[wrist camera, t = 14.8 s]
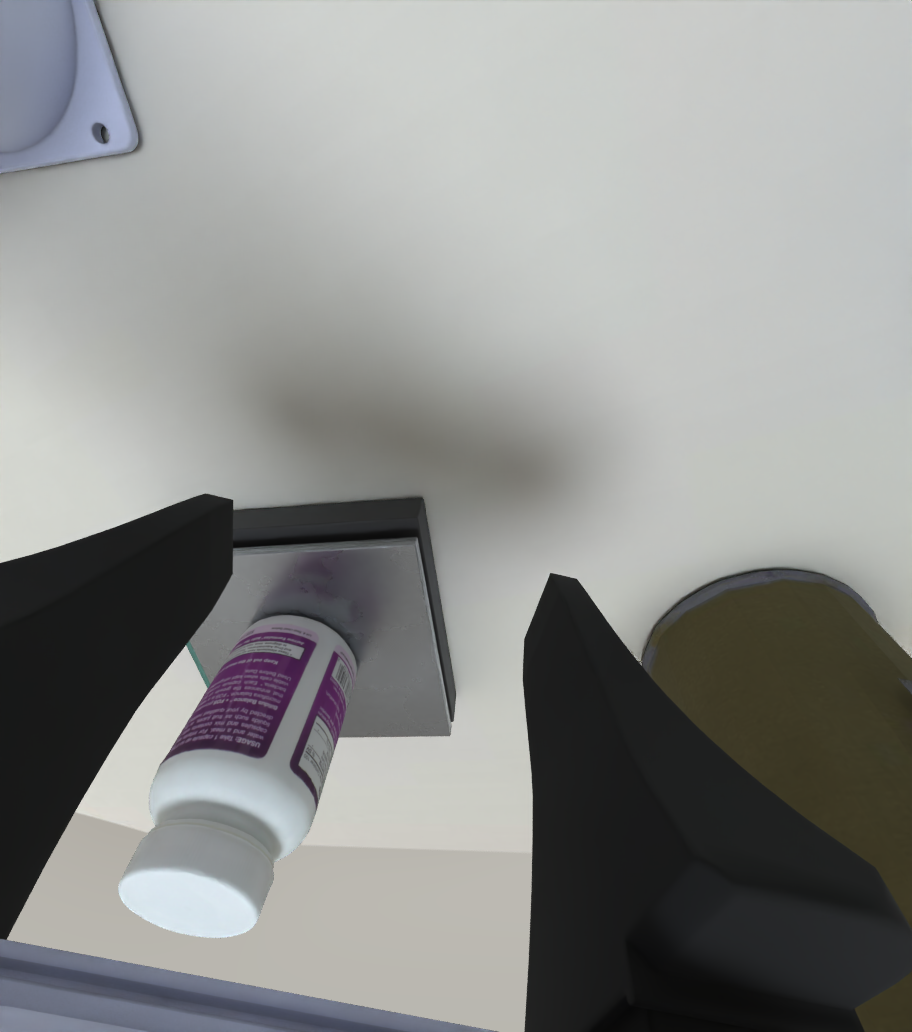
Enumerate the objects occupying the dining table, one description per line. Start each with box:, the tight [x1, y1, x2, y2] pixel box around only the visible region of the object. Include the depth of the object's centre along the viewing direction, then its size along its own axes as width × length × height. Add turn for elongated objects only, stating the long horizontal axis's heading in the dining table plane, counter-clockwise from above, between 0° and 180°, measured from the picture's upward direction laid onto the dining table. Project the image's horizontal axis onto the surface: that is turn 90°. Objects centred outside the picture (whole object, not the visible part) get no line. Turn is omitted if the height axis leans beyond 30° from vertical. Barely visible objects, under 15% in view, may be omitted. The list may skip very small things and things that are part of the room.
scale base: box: [186, 498, 456, 722], centre depth 24 cm, size 12×12×2 cm
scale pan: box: [189, 537, 451, 737], centre depth 23 cm, size 11×11×1 cm
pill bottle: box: [118, 615, 357, 938], centre depth 19 cm, size 5×5×10 cm
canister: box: [643, 570, 912, 1032], centre depth 16 cm, size 11×10×20 cm
